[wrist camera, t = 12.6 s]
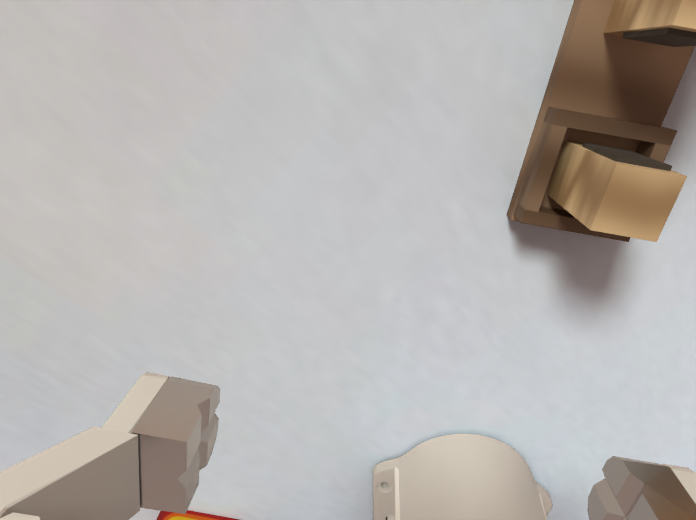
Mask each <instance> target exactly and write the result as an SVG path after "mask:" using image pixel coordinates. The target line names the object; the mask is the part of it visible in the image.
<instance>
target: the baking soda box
mask: <svg viewBox="0 0 696 520" xmlns="http://www.w3.org/2000/svg"><path fill="white" fill-rule="evenodd" d="M157 520H238V519H233V518H227V517H222V516H216V515H210V514H205V513H199V512H194V511H188V510H187V511H186V514H181V513H174V512H167V511H161V512H160V514H159V516H158V518H157Z"/></svg>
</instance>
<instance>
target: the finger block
mask: <svg viewBox="0 0 696 520" xmlns="http://www.w3.org/2000/svg"><path fill="white" fill-rule="evenodd" d="M671 168H672V166H671V165H668V164H665V163H662V162H660V161H657V160H654V159H652V158H649V157H646V156H644V155H641V154H638V153H636V152H633V151H630V150H624V149H619V148H613V147H608V146H602V145H596V144H591V143H585V142H583V144H580V143H575V142H569V141H565V144H564V147H563V150H562V153H561V156H560V159H559V161H558V164H557V167H556V170H555V173H554V176H553V179H552V182H551V185H550V187H549V190H548V193H547V195H549V196H550V197H551V198H552V199H553V200H555V201H556V202H557V203H558V204H559V205H561V206H562V207H563V208H564V209H565V210H567V211H568V212H569V213H570V214H571V215H573V216H574V217H575V218H576V219H577V220H579V221H580V222H581V223H582V224H583V225H585V226H586V227H587V228H588V229H590V230H592V231H598V232H604V233H609V234H615V235H620V236H626V237H632V238H637V239H643V240H648V241H654V242H657V240H658V238H659V236H660V233H661V231H662V229H663V227H664V225H665V223H666V221H667V218H668V216H669V214H670V212H671V210H672V208H673V205H674V203H675V201H676V199H677V197H678V195H679V193H680V190H681V188H682V186H683V184H684V182H685V180H686V178H687V176H685V175H682V174H680V173H677V172H674V171H672V170H671Z"/></svg>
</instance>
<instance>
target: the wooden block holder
mask: <svg viewBox="0 0 696 520" xmlns="http://www.w3.org/2000/svg"><path fill="white" fill-rule="evenodd" d="M695 46H696V0H574V3H573V6H572V10H571V13H570V16H569V19H568V22H567V25H566V29H565V32H564V35H563V38H562V41H561V44H560V48H559V51H558V54H557V57H556V60H555V63H554V67H553V70H552V73H551V76H550V79H549V82H548V86H547V89H546V92H545V95H544V98H543V101H542V105H541V108H540V111H539V114H538V117H537V120H536V124H535V127H534V130H533V133H532V136H531V139H530V143H529V146H528V149H527V152H526V155H525V158H524V162H523V165H522V168H521V171H520V174H519V177H518V181H517V184H516V187H515V190H514V193H513V196H512V200H511V203H510V206H509V209H508V212H507V215H508V216H509V218H510V219H511V220H513V221H519V222H520V223H526V224H532V225H537V226H543V227H548V228H554V229H560V230H565V231H571V232H576V233H582V234H588V235H593V236H599V237H605V238H610V239H616V240H621V241H627V242H629V239H630V237H626V236H620V235H615V234H609V233H604V232H598V231H592V230H590V229H588V228H587V227H586V226H585V225H583V224H582V223H581V222H580V221H579V220H577V219H576V218H575V217H574V216H573V215H571V214H570V213H569V212H568V211H567V210H565V209H564V208H563V207H562V206H561V205H559V204H558V203H557V202H556V201H555V200H553V199H552V198H551V197H550V196H549V195H547V193H548V190H549V187H550V185H551V182H552V179H553V176H554V173H555V170H556V167H557V164H558V161H559V159H560V156H561V153H562V150H563V147H564V144H565V141H569V142H575V143H580V144H583V142H585V143H591V144H596V145H602V146H608V147H613V148H619V149H624V150H630V151H633V152H636V153H638V154H641V155H644V156H646V157H649V158H652V159H654V160H657V161H660V162H662V163H663V162H664V160H665V157H666V155H667V153H668V151H669V148H670V146H671V144H672V141H673V139H674V137H675V135H676V132H677V130H673V129H669V128H665V127H661V125H662V122H663V120H664V118H665V115H666V113H667V111H668V108H669V106H670V104H671V101H672V99H673V96H674V94H675V92H676V89H677V87H678V85H679V82H680V80H681V77H682V75H683V73H684V70H685V68H686V66H687V63H688V61H689V59H690V56H691V54H692V51H693V49H694V47H695Z"/></svg>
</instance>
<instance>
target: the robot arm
mask: <svg viewBox="0 0 696 520" xmlns="http://www.w3.org/2000/svg"><path fill="white" fill-rule="evenodd" d="M219 402H220V388H219V387H218V386H216V385H211V384H206V383H201V382H196V381H191V380H186V379H181V378H176V377H169V376H164V375H159V374H154V373H149V372H147V373H146V374H144V375H142V376H141V377H140V378H139V379H138V381H137V382H136V383H135V385H134V386H133V387H132V389H131V390H130V391H129V392H128V394H127V395H126V396H125V398H124V399H123V400H122V401H121V403H120V404H119V405H118V407H117V408H116V409H115V411H114V412H113V413H112V414H111V416H110V417H109V418H108V420H107V421H106V422H105V424H104V425H103V426H102V427H101V428H97V427H92V428H90V429H88V430H86V431H84V432H82V433H80V434H78V435H76V436H74V437H72V438H70V439H67V440H65V441H63V442H61V443H59V444H57V445H55V446H53V447H51V448H49V449H47V450H45V451H43V452H41V453H39V454H37V455H34V456H32V457H30V458H28V459H26V460H24V461H22V462H20V463H18V464H16V465H14V466H12V467H10V468H8V469H6V470H4V471H2V472H0V520H129V519H130V518H131V517H132V516H134V515H135V514H136V513H137V512H139V511H140V508H147V509H154V510H161V511H167V512H174V513H181V514H186V511H187V509H188V507H189V505H190V502H191V500H192V498H193V495H194V493H195V491H196V489H197V486H198V484H199V470H201V469H202V468H204V467H205V466H207V463H208V461H209V459H210V456H211V454H212V451H213V447H214V444H215V441H216V436H217V430H218V420H219V418H218V417H217V415H216V414H215V410H216V408H217V406H218V404H219ZM602 471H603V473H604V476H605V479H603V480H602V481H600V482H598V483H596V484H595V485H594V486H593V488H592V490H591V492H590V494H589V497H588V515H589V520H696V473H695V472H693V471H692V470H691V469H689V468H685V467H679V466H672V465H666V464H658V463H652V462H646V461H640V460H634V459H628V458H622V457H616V456H613V457H611V458H610V459H608V460H607V461H606V463H605V465H604V467H603V469H602ZM551 509H552V501H551V497H550V495H549V493H548V492H547V491H546V490H545V489H544V488H543V487H542V486H540V485H539V484H538V483H537V482H536V481H535V480H534V478H533V476H532V474H531V471H530V469H529V466H528V464H527V463H526V461H525V460H524V459H523V457H522V456H521V455H520V454H519V453H518V452H517V451H516V450H514V449H513V448H512V447H510V446H509V445H507V444H505V443H503V442H501V441H499V440H496V439H493V438H490V437H487V436H482V435H476V434H450V435H444V436H440V437H436V438H433V439H430V440H427V441H425V442H423V443H421V444H419V445H417V446H416V447H414V448H413V449H411V450H410V451H409V452H407V453H406V454H404V455H403V456H401V457H399V458H395V459H391V460H387V461H384V462H381V463H379V464H377V465H376V466H375V467H374V468H373V520H547V517H546V515H547V514H548V513H549V511H550V510H551Z"/></svg>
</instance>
